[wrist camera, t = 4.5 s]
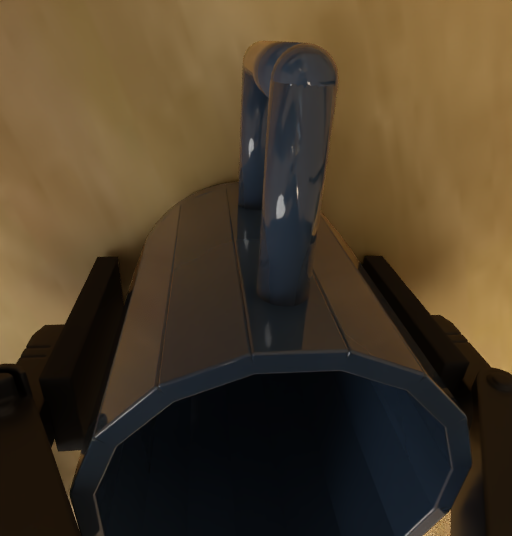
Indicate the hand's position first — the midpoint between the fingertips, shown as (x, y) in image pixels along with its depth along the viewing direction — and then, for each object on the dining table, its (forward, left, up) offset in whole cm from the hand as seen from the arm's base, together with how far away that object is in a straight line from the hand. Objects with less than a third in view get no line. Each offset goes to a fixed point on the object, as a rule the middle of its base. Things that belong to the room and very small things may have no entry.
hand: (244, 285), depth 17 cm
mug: (-2, 0, 0) cm, 2 cm away
